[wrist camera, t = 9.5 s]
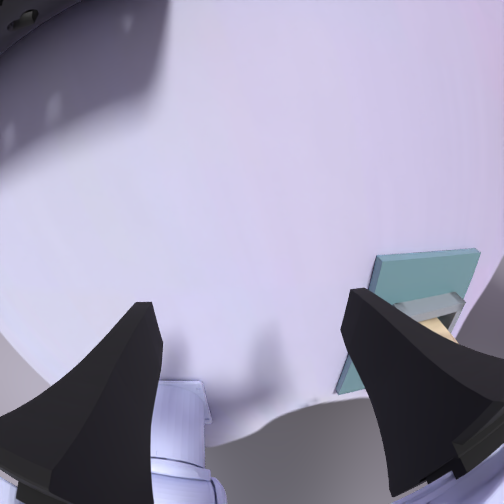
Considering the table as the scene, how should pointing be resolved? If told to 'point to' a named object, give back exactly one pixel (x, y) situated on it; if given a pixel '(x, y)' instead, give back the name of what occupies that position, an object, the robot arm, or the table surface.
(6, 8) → the muzzle brake
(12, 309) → the table surface
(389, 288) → the dock
